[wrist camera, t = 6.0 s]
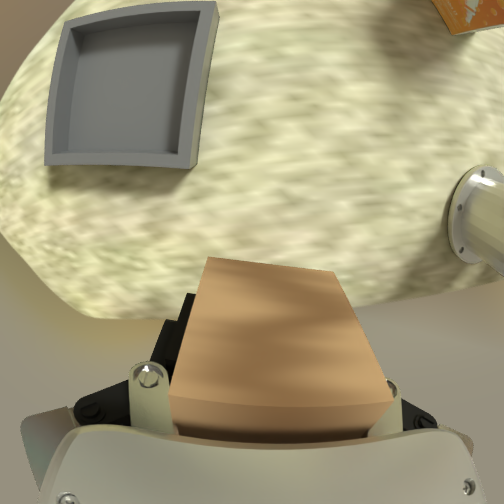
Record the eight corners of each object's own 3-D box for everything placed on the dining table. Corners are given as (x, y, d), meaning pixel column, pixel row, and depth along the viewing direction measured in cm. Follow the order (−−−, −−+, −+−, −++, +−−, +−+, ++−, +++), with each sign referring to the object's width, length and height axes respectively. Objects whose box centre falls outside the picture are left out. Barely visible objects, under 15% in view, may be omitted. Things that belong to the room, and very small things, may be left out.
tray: (219, 17, 17) (216, 1, 14) (197, 163, 23) (189, 169, 19) (82, 30, 16) (64, 21, 13) (64, 159, 21) (44, 165, 18)
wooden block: (333, 271, 12) (394, 400, 6) (304, 358, 14) (324, 474, 8) (208, 256, 12) (168, 394, 5) (202, 349, 14) (181, 470, 7)
